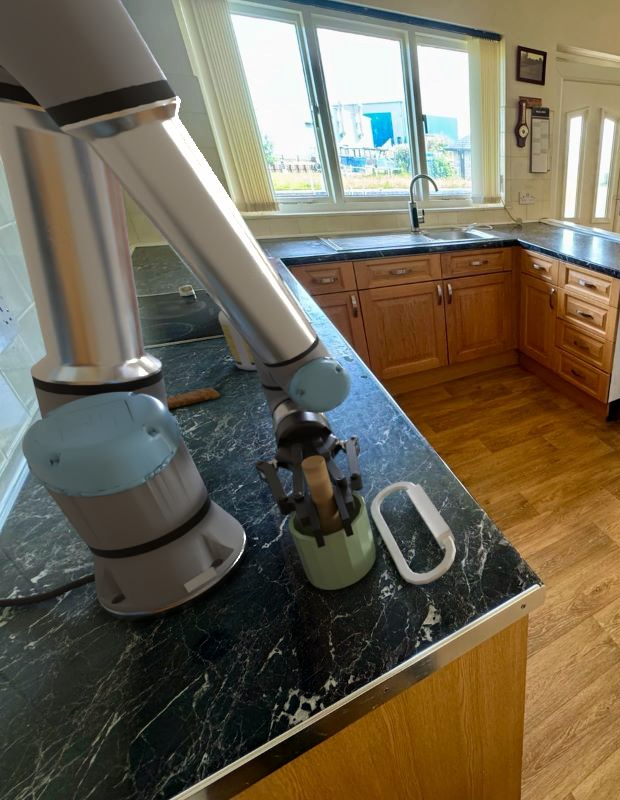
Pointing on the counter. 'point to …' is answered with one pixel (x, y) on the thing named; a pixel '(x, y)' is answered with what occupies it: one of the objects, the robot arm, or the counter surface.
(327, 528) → the stick
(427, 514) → the white oval ring
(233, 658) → the counter surface
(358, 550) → the cup
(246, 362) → the supplement tub
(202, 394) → the brown rounded bar
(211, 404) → the counter surface
